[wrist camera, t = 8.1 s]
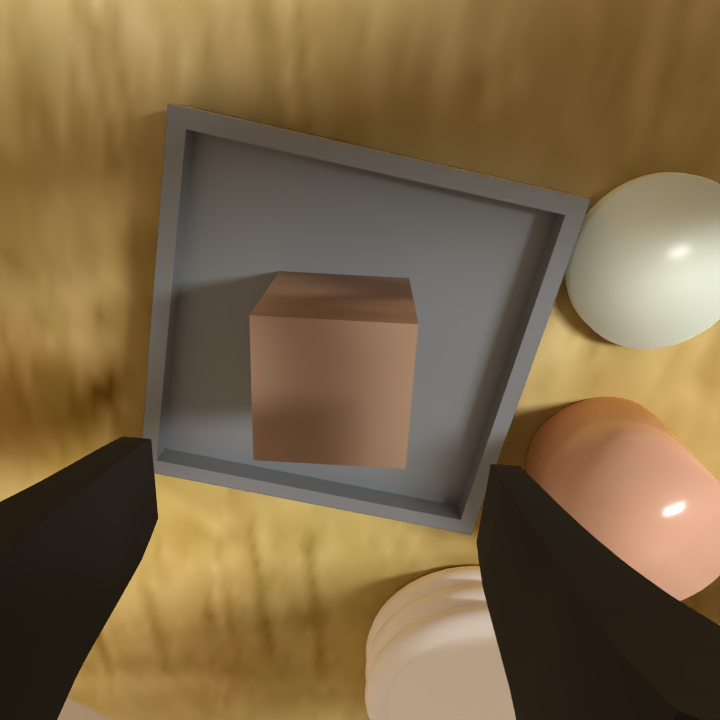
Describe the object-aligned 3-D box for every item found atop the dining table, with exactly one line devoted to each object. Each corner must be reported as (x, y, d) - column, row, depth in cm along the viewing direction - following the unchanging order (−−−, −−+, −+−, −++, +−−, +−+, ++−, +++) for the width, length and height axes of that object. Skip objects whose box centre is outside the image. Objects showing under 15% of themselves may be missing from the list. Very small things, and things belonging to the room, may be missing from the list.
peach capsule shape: (691, 412, 22) (773, 487, 18) (635, 527, 24) (696, 621, 20) (552, 383, 22) (598, 452, 17) (508, 502, 24) (538, 592, 19)
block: (409, 277, 20) (418, 324, 15) (399, 395, 22) (405, 469, 17) (279, 271, 20) (249, 315, 15) (280, 388, 22) (253, 460, 17)
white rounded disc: (771, 199, 19) (790, 203, 18) (686, 357, 22) (700, 367, 21) (605, 149, 19) (616, 150, 18) (536, 315, 21) (543, 324, 20)
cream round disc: (393, 540, 25) (395, 601, 22) (609, 582, 26) (643, 648, 22) (347, 695, 29) (343, 768, 26) (537, 729, 29) (556, 804, 26)
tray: (575, 194, 19) (590, 200, 18) (465, 511, 24) (471, 534, 23) (183, 105, 19) (167, 103, 17) (153, 449, 24) (139, 470, 22)
